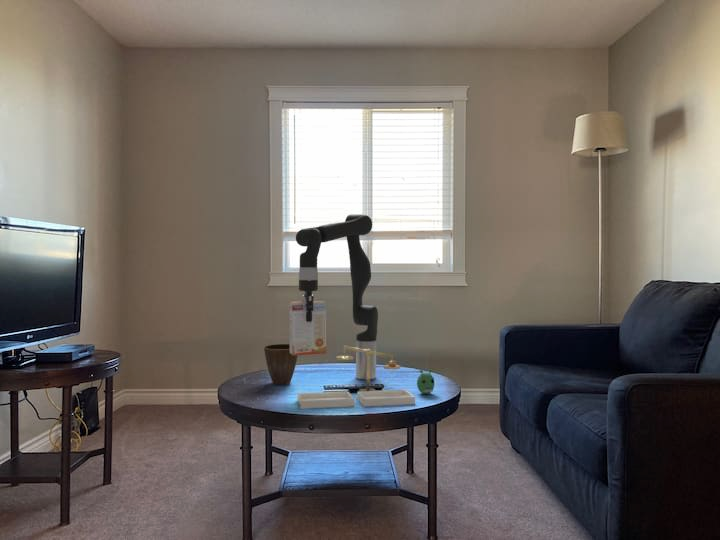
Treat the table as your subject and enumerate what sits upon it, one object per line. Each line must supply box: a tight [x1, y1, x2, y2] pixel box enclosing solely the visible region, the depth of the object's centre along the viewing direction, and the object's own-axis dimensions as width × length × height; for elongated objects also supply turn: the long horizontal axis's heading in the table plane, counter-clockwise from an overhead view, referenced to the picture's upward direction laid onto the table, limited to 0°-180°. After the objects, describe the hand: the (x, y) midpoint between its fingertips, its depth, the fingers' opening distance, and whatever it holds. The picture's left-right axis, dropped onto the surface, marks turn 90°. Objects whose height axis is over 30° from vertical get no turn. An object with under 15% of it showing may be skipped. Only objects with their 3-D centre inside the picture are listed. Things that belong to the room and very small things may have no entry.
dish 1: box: [297, 390, 355, 410], centre depth 194 cm, size 12×20×3 cm, turn 102°
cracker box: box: [289, 300, 327, 356], centre depth 207 cm, size 14×6×21 cm, turn 110°
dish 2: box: [356, 389, 416, 407], centre depth 198 cm, size 12×20×3 cm, turn 102°
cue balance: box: [335, 345, 402, 392], centre depth 209 cm, size 7×27×20 cm, turn 102°
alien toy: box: [416, 368, 435, 395], centre depth 210 cm, size 7×8×10 cm
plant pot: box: [263, 343, 299, 386], centre depth 226 cm, size 15×15×16 cm
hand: (308, 320), depth 207 cm, fingers closed on cracker box, 6 cm apart
